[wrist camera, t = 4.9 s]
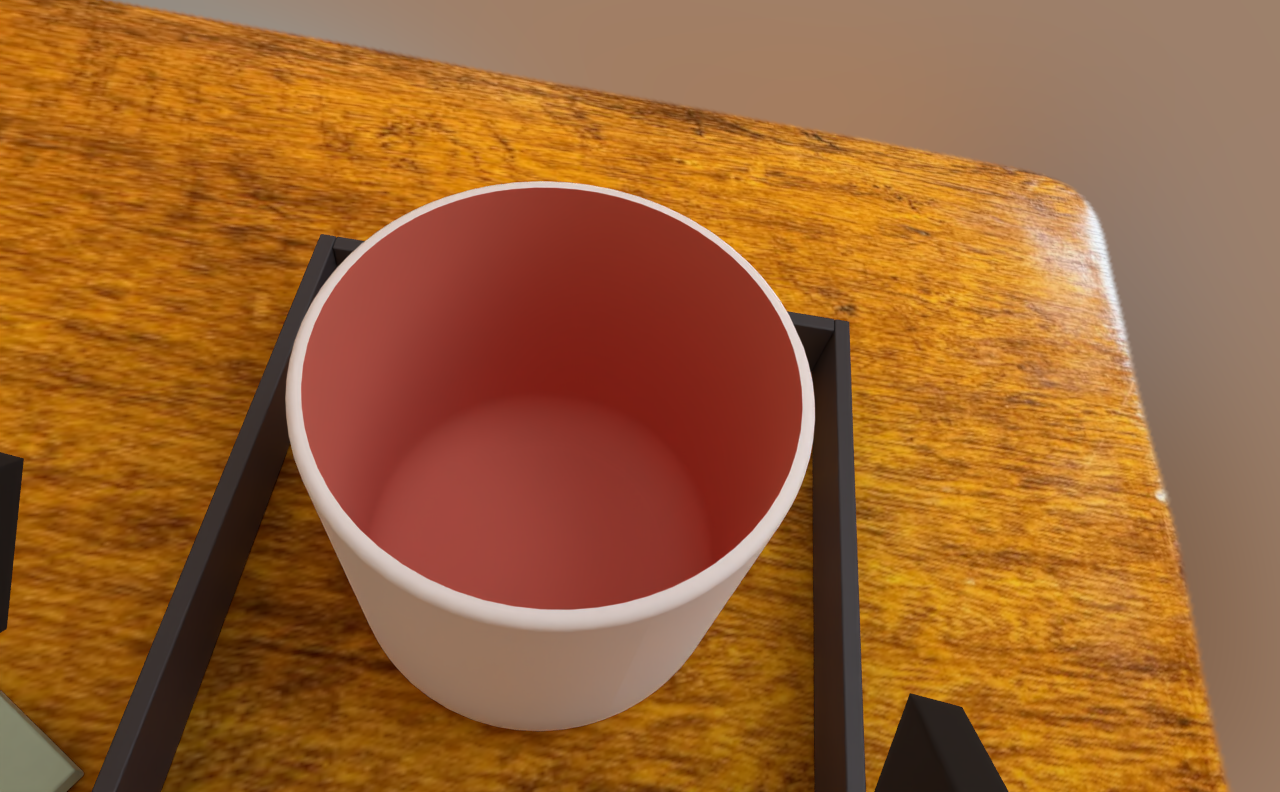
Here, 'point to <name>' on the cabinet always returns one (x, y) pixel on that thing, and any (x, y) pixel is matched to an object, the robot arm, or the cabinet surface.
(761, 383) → the cup
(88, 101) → the cabinet surface
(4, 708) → the mat
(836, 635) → the square frame
